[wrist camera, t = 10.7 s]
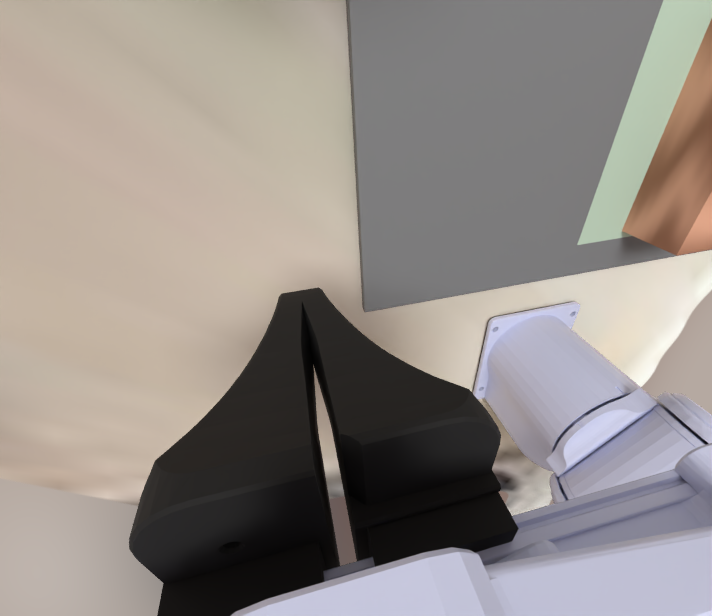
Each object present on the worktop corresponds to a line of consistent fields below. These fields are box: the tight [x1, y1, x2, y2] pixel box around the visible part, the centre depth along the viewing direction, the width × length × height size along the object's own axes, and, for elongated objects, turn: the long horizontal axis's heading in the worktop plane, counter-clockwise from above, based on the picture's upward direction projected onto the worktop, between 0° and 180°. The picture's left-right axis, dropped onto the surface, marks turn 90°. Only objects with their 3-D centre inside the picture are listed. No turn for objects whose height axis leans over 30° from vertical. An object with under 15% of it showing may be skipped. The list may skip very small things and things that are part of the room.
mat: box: [346, 0, 712, 312], centre depth 20 cm, size 18×30×1 cm, turn 93°
